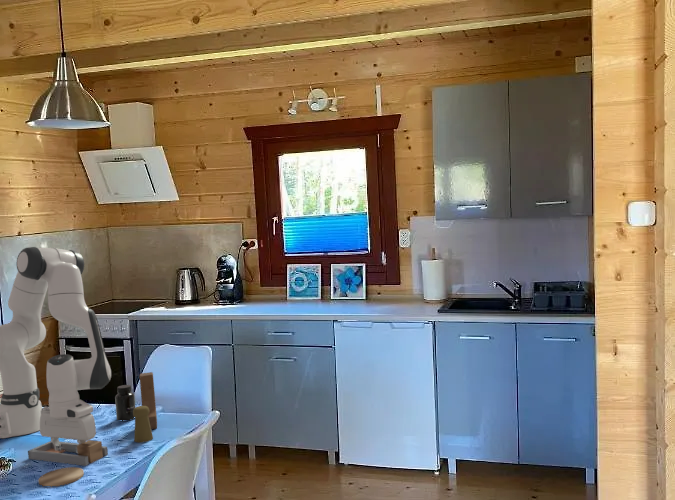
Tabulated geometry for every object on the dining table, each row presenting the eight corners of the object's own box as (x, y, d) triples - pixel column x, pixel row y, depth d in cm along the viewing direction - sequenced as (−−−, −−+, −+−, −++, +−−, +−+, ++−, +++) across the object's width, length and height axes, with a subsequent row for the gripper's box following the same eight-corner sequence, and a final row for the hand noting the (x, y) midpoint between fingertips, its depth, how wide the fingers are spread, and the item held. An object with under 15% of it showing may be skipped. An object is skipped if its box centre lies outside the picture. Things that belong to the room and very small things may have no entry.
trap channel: (28, 458, 213) (27, 450, 213) (52, 448, 222) (51, 440, 221) (85, 465, 203) (84, 457, 203) (108, 454, 212) (107, 446, 212)
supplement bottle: (133, 421, 245) (130, 388, 244) (114, 422, 245) (111, 389, 244) (138, 415, 252) (135, 383, 251) (120, 416, 252) (117, 384, 251)
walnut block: (78, 461, 207) (76, 445, 207) (90, 455, 212) (89, 440, 212) (90, 463, 205) (89, 447, 205) (102, 457, 210) (101, 441, 209)
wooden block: (157, 428, 234) (152, 377, 233) (143, 430, 233) (139, 379, 232) (157, 421, 243) (152, 371, 242) (144, 423, 242) (139, 373, 240)
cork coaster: (29, 484, 192) (28, 481, 192) (62, 468, 203) (61, 465, 203) (60, 488, 187) (60, 486, 187) (92, 472, 198) (92, 469, 198)
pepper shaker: (142, 443, 220) (139, 410, 219) (130, 441, 223) (127, 408, 222) (157, 437, 225) (154, 404, 224) (144, 435, 228) (141, 403, 228)
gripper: (32, 409, 212) (36, 452, 213) (81, 413, 204) (86, 458, 205) (48, 403, 218) (52, 445, 219) (97, 406, 210) (101, 450, 211)
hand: (69, 451), depth 212 cm, fingers open, 7 cm apart
